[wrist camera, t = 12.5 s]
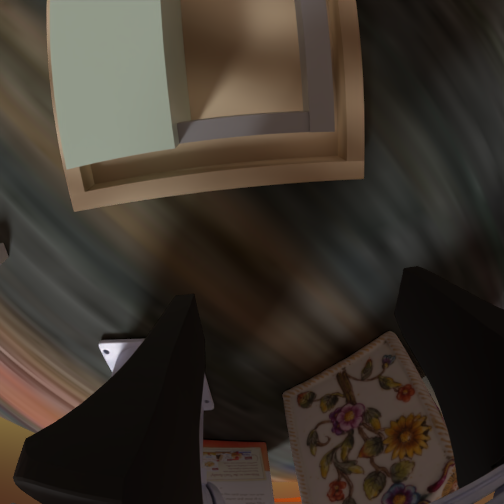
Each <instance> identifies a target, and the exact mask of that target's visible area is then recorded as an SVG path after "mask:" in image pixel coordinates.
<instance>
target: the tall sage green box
mask: <svg viewBox="0 0 504 504" xmlns="http://www.w3.org/2000/svg"><path fill="white" fill-rule="evenodd" d="M294 2H295V11H296V21H297V31H298V42H299V54H300V67H301V81H302V97H303V111H290V112H270V113H255V114H243V115H232V116H222V117H213V118H205V119H197V120H191V113H190V104H189V95H188V85H187V75H186V65H185V54H184V43H183V30H182V17H181V3H180V0H50V51H51V66H52V78H53V88H54V97H55V105H56V113H57V119H58V126H59V132H60V138H61V144H62V149H63V154H64V159H65V164H66V169H72V168H76V167H80V166H84V165H89V164H93V163H98V162H102V161H107V160H112V159H117V158H122V157H127V156H132V155H138V154H143V153H149V152H155V151H161V150H167V149H174V148H176V147H177V146H178V145H179V144H181V143H188V142H196V141H204V140H212V139H221V138H230V137H240V136H252V135H264V134H279V133H298V132H335V120H334V95H333V77H332V62H331V49H330V37H329V26H328V17H327V8H326V0H294Z"/></svg>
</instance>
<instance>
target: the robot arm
mask: <svg viewBox="0 0 504 504" xmlns="http://www.w3.org/2000/svg"><path fill="white" fill-rule="evenodd" d="M394 314H395V317H396V319H397V322H398V324H399V327H400V329H401V331H402V334H403V336H404V338H405V340H406V341H407V343H408V345H409V347H410V348H411V350H412V352H413V354H414V355H415V357H416V359H417V361H418V362H419V364H420V366H421V368H422V369H423V371H424V373H425V375H426V376H427V378H428V380H429V382H430V384H431V386H432V388H433V390H434V392H435V395H436V398H437V400H438V403H439V405H440V408H441V411H442V414H443V417H444V420H445V423H446V427H447V430H448V434H449V438H450V442H451V446H452V450H453V455H454V461H455V468H456V475H457V485H458V487H459V490H457V491H455V492H453V493H451V494H448V495H446V496H444V497H442V498H440V499H438V500H436V501H433V502H431V503H429V504H474V503H475V502H477V501H479V500H480V499H482V498H484V497H485V496H487V495H489V494H490V493H492V492H494V491H495V490H496V491H495V493H494V497H493V499H491V500H490V501H488V502H487V503H485V504H504V310H503V309H501V308H499V307H497V306H494V305H492V304H490V303H488V302H486V301H484V300H482V299H480V298H478V297H476V296H474V295H472V294H471V293H469V292H467V291H465V290H463V289H461V288H459V287H458V286H456V285H454V284H452V283H450V282H449V281H447V280H445V279H443V278H441V277H439V276H437V275H436V274H434V273H432V272H430V271H428V270H425V269H423V268H421V267H418V266H416V267H410V268H404V269H403V275H402V280H401V285H400V290H399V295H398V300H397V304H396V309H395V313H394ZM99 348H100V350H101V352H102V354H103V356H104V358H105V360H106V362H107V364H108V365H109V367H110V369H111V371H112V376H111V378H110V379H109V380H108V381H107V382H106V383H105V384H104V385H103V386H102V387H100V388H99V389H98V390H97V391H96V392H95V393H93V394H92V395H91V396H90V397H89V398H88V399H87V400H85V401H84V402H83V403H81V404H80V405H79V406H77V407H76V408H75V409H73V410H72V411H71V412H69V413H68V414H66V415H65V416H63V417H62V418H61V419H59V420H57V421H56V422H54V423H53V424H51V425H49V426H48V427H46V428H44V429H42V430H41V431H39V432H37V433H35V434H34V435H32V436H30V437H28V438H26V440H25V442H24V445H23V448H22V451H21V454H20V457H19V460H18V463H17V466H16V470H15V473H14V476H13V479H14V482H15V484H16V485H17V486H18V487H19V488H20V489H21V490H22V491H24V492H25V493H26V494H28V495H29V496H31V497H32V498H34V499H35V500H37V501H39V502H40V503H42V504H226V503H225V501H224V498H223V497H222V494H221V492H220V491H219V489H218V488H217V487H216V486H215V485H214V484H213V483H211V482H207V469H205V468H201V465H202V461H203V414H204V410H212V409H214V402H213V399H212V396H211V392H210V389H209V386H208V382H207V379H206V375H205V339H204V335H203V331H202V326H201V322H200V318H199V313H198V309H197V305H196V300H195V296H194V294H188V295H177V296H175V297H174V298H173V300H172V301H171V303H170V304H169V306H168V307H167V309H166V310H165V312H164V313H163V314H162V316H161V317H160V319H159V320H158V322H157V323H156V325H155V326H154V327H153V329H152V330H151V331H150V333H149V334H148V335H147V337H146V338H145V339H119V340H101V341H100V343H99ZM107 350H108V351H107ZM11 504H15V503H11Z"/></svg>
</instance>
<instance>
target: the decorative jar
mask: <svg viewBox="0 0 504 504" xmlns="http://www.w3.org/2000/svg"><path fill="white" fill-rule="evenodd" d="M282 397H283V401H284V409H285V416H286V422H287V428H288V433H289V440H290V445H291V451H292V457H293V461H294V466H295V470H296V475H297V480H298V485H299V490H300V496H301V500H302V504H429V503H431V502H433V501H436V500H438V499H440V498H442V497H444V496H446V495H448V494H451V493H453V492H455V491H457V490H459V487H458V485H457V475H456V468H455V461H454V455H453V450H452V446H451V442H450V438H449V434H448V430H447V427H446V423H445V421H444V418H443V417H442V414H441V412H440V410H439V408H438V407H437V405H436V403H435V402H434V400H433V398H432V397H431V394H430V393H429V391H428V390H427V388H426V386H425V384H424V382H423V381H422V379H421V377H420V375H419V373H418V371H417V369H416V367H415V365H414V364H413V362H412V360H411V359H410V357H409V355H408V353H407V352H406V350H405V348H404V347H403V345H402V343H401V342H400V340H399V338H398V337H397V335H396V334H395V333H394V332H392V331H388V332H386V333H384V334H383V335H381V336H380V337H378V338H377V339H375V340H374V341H372V342H371V343H369V344H368V345H366V346H364V347H363V348H361V349H360V350H359V351H357V352H355V353H354V354H352V355H351V356H349V357H348V358H346V359H344V360H342V361H340V362H338V363H337V364H335V365H333V366H332V367H330V368H328V369H326V370H324V371H323V372H321V373H319V374H317V375H316V376H314V377H312V378H311V379H309V380H307V381H305V382H303V383H301V384H299V385H297V386H295V387H293V388H291V389H289V390H287V391H285V392H284V393H283V394H282Z"/></svg>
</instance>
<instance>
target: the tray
mask: <svg viewBox="0 0 504 504" xmlns="http://www.w3.org/2000/svg"><path fill="white" fill-rule="evenodd" d="M180 3H181V17H182V30H183V43H184V54H185V65H186V75H187V85H188V95H189V104H190V113H191V120H197V119H205V118H213V117H222V116H232V115H243V114H255V113H270V112H290V111H303V97H302V81H301V67H300V54H299V42H298V31H297V21H296V11H295V2H294V0H180ZM326 8H327V17H328V26H329V37H330V49H331V62H332V77H333V95H334V120H335V132H298V133H279V134H264V135H252V136H240V137H230V138H221V139H212V140H204V141H196V142H188V143H181V144H179V145H178V146H177V147H176V148H174V149H167V150H161V151H155V152H149V153H143V154H138V155H132V156H127V157H122V158H117V159H112V160H107V161H102V162H98V163H93V164H89V165H84V166H80V167H76V168H72V169H66V164H65V159H64V154H63V149H62V144H61V138H60V132H59V126H58V119H57V113H56V105H55V97H54V88H53V78H52V66H51V51H50V0H47V48H48V65H49V77H50V87H51V96H52V104H53V111H54V118H55V125H56V131H57V137H58V143H59V148H60V153H61V158H62V163H63V168H64V172H65V177H66V181H67V185H68V190H69V194H70V198H71V202H72V205H73V209H74V212H76V211H81V210H87V209H92V208H98V207H104V206H109V205H115V204H122V203H128V202H134V201H141V200H147V199H154V198H161V197H168V196H176V195H183V194H191V193H199V192H207V191H216V190H225V189H234V188H244V187H254V186H265V185H276V184H288V183H301V182H315V181H331V180H350V179H364V91H363V71H362V56H361V44H360V33H359V23H358V14H357V6H356V0H326Z"/></svg>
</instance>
